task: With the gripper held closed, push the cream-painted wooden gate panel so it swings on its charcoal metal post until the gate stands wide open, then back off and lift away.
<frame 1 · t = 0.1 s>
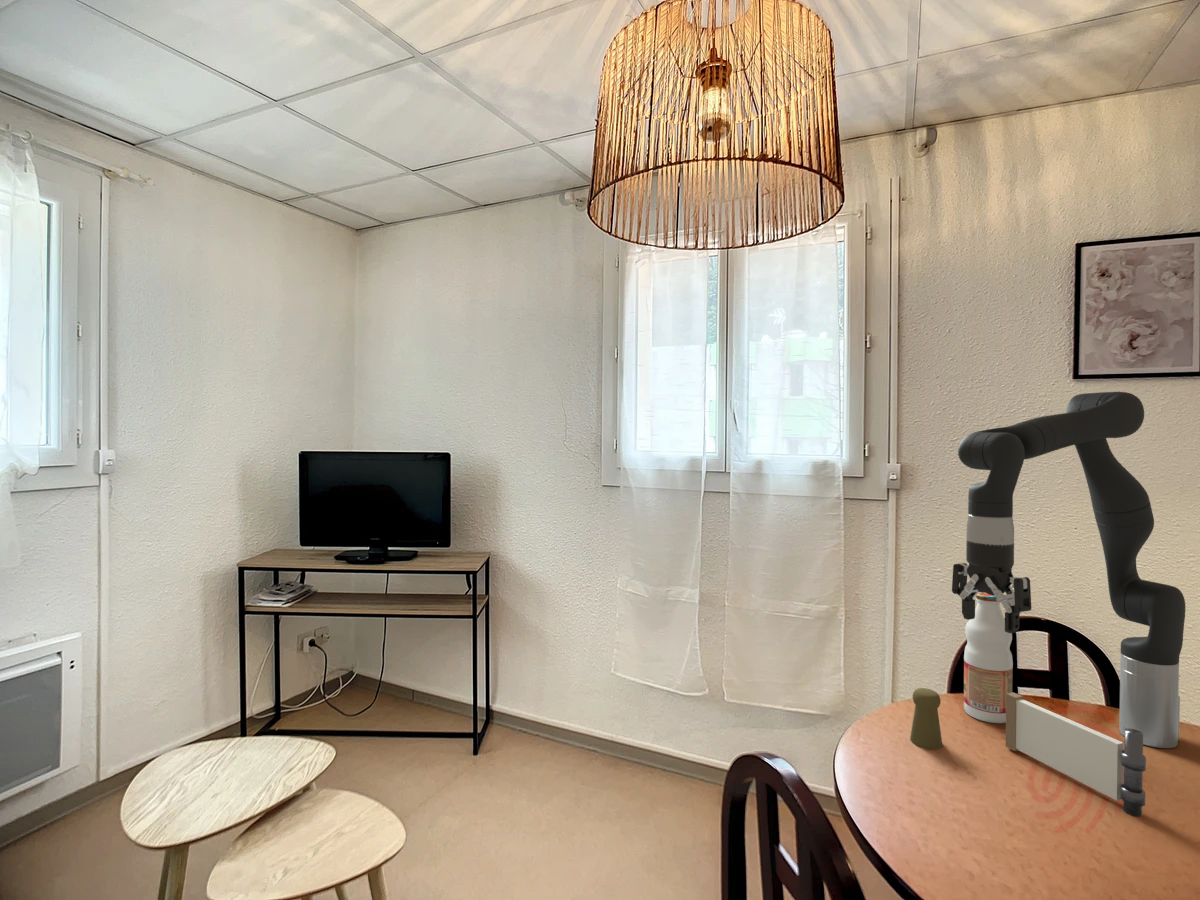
hand: (989, 625, 115), 29 cm above the table, tool pointing down, fingers open, 8 cm apart
gate: (1060, 743, 117), point 6 cm above the table, hinge at 0.0°
gate post: (1132, 812, 105), on the table
olive green pawn: (926, 742, 130), on the table
fruit juice: (987, 715, 141), on the table
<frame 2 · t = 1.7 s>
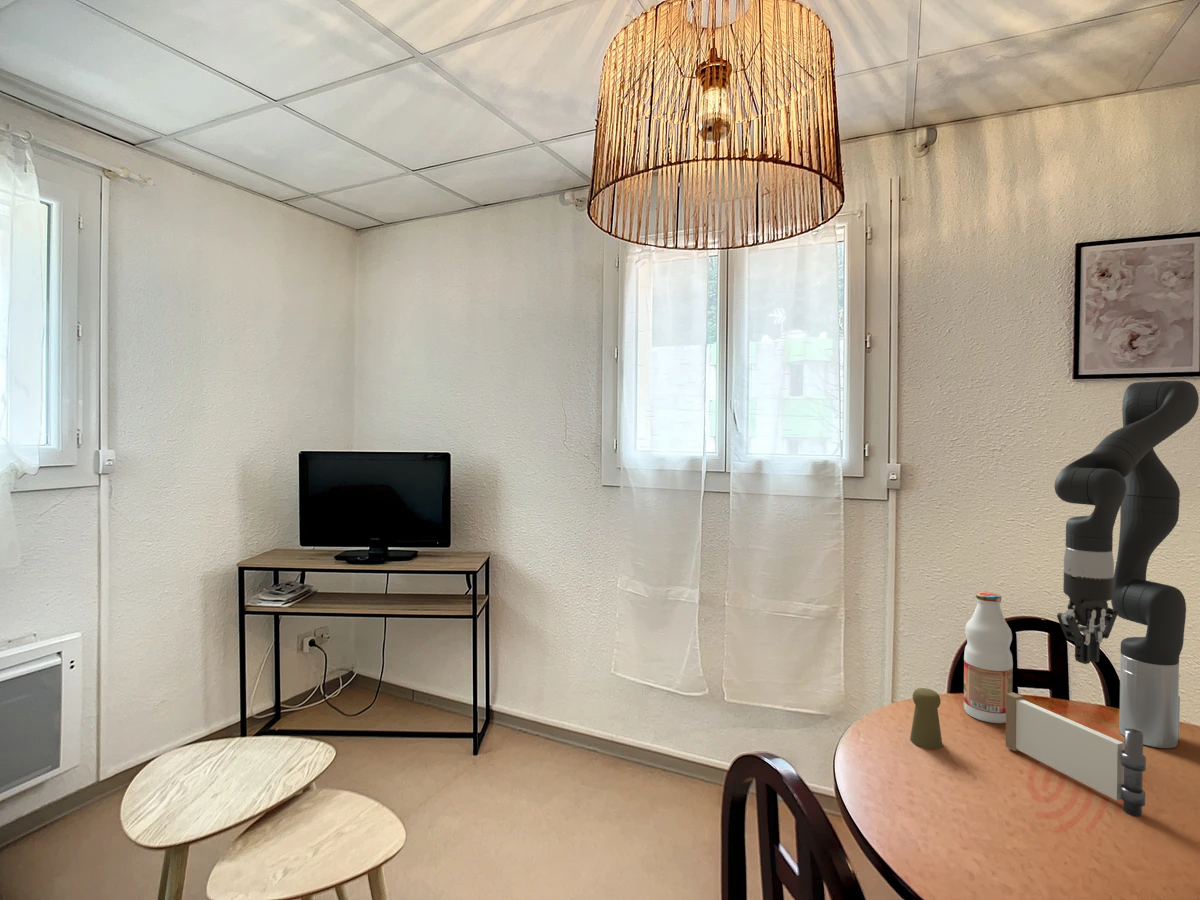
hand: (1086, 661, 118), 21 cm above the table, tool pointing down, fingers closed
nothing on the table moved.
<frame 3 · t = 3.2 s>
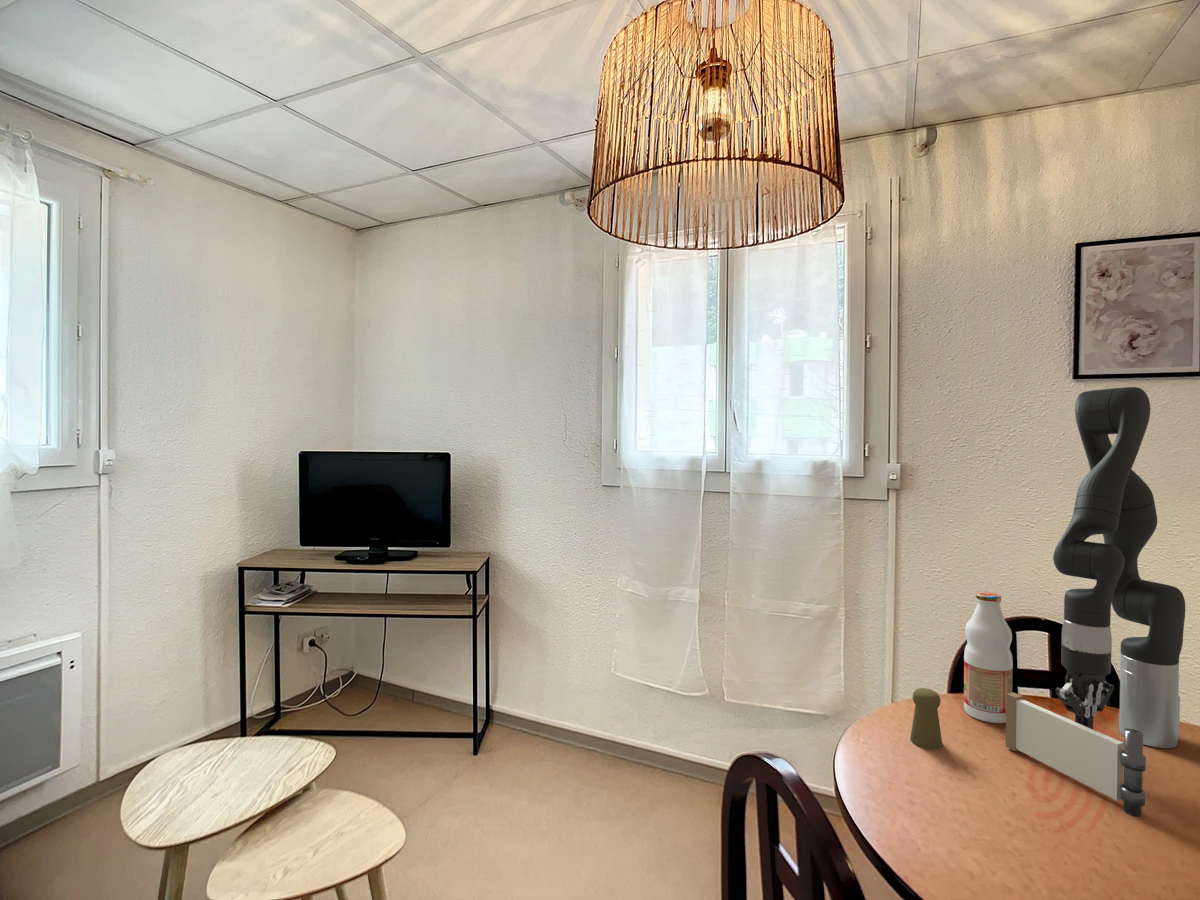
hand: (1083, 733, 119), 7 cm above the table, tool pointing down, fingers closed
nothing on the table moved.
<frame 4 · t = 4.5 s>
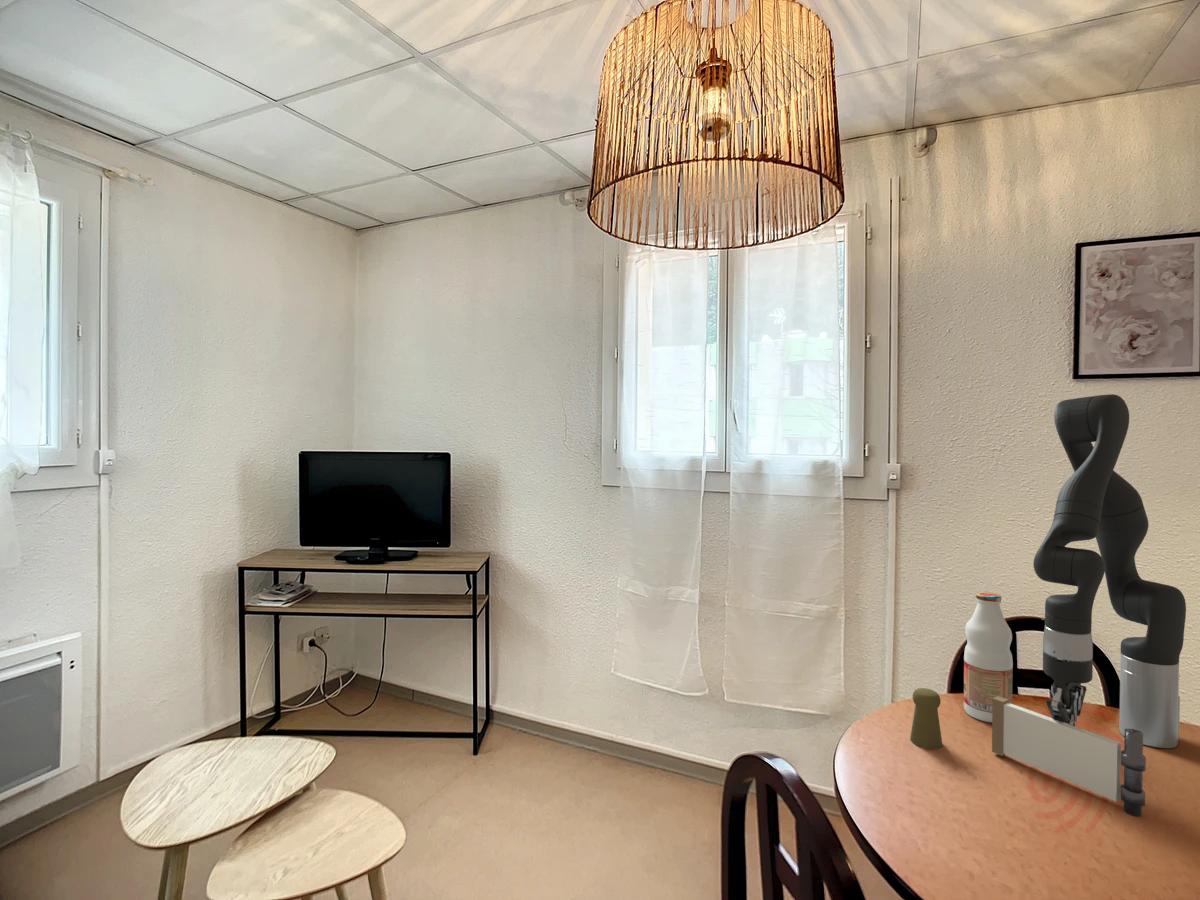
hand: (1066, 740, 118), 6 cm above the table, tool pointing down, fingers closed
gate: (1052, 746, 116), point 6 cm above the table, hinge at 11.6°, touching hand
everything else where it was.
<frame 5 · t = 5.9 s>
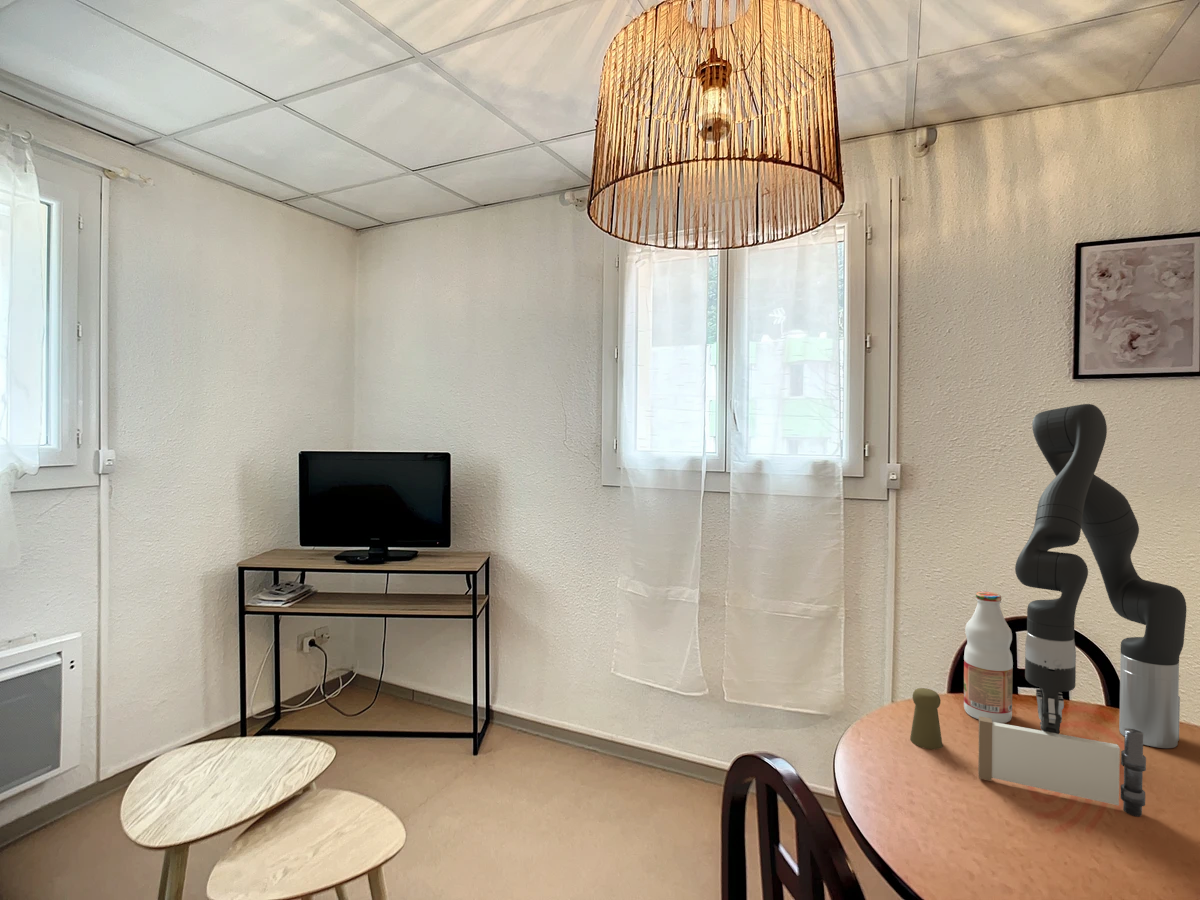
hand: (1049, 749, 114), 6 cm above the table, tool pointing down, fingers closed
gate: (1045, 760, 111), point 6 cm above the table, hinge at 43.8°, touching hand
everything else where it was.
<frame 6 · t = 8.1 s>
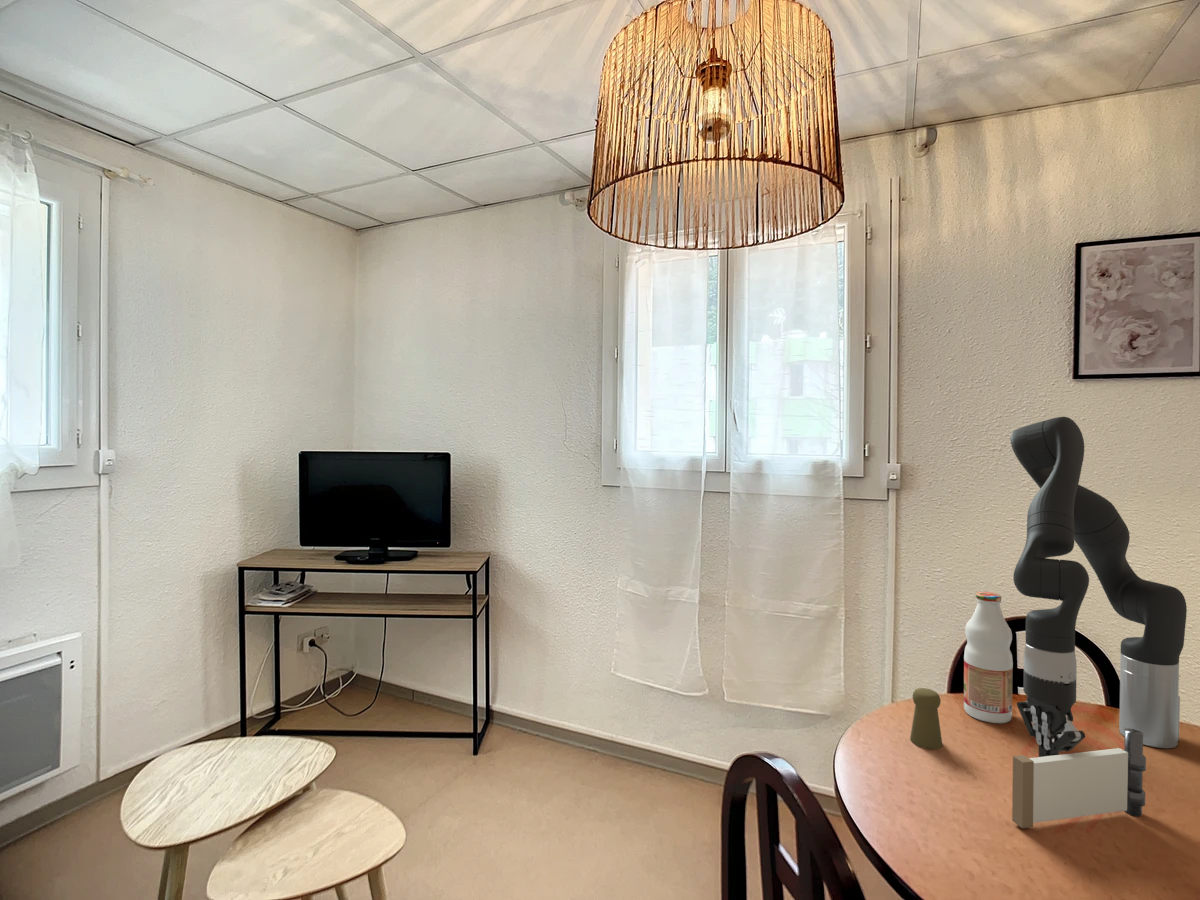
hand: (1048, 767, 109), 6 cm above the table, tool pointing down, fingers closed
gate: (1071, 785, 103), point 6 cm above the table, hinge at 81.3°
everything else where it was.
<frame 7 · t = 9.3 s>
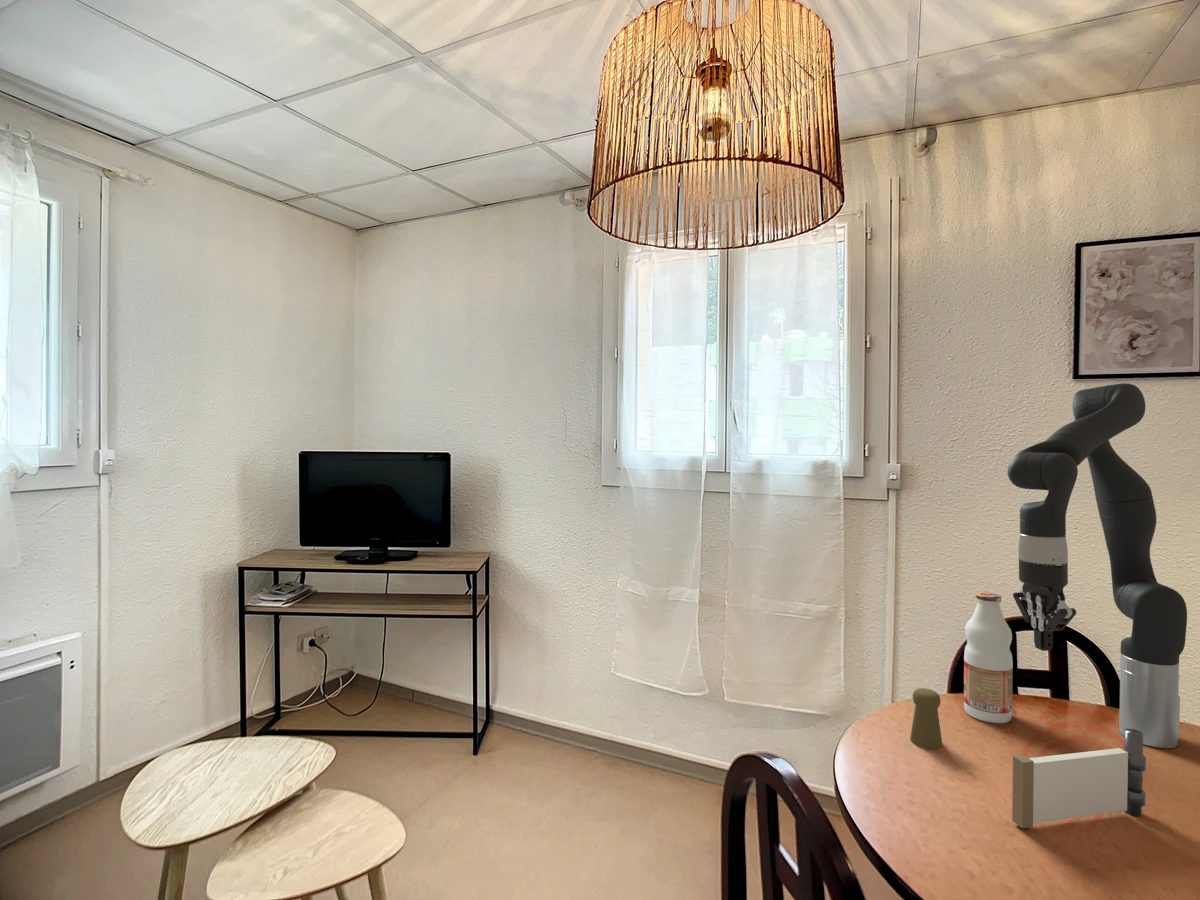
hand: (1043, 649, 116), 24 cm above the table, tool pointing down, fingers closed
nothing on the table moved.
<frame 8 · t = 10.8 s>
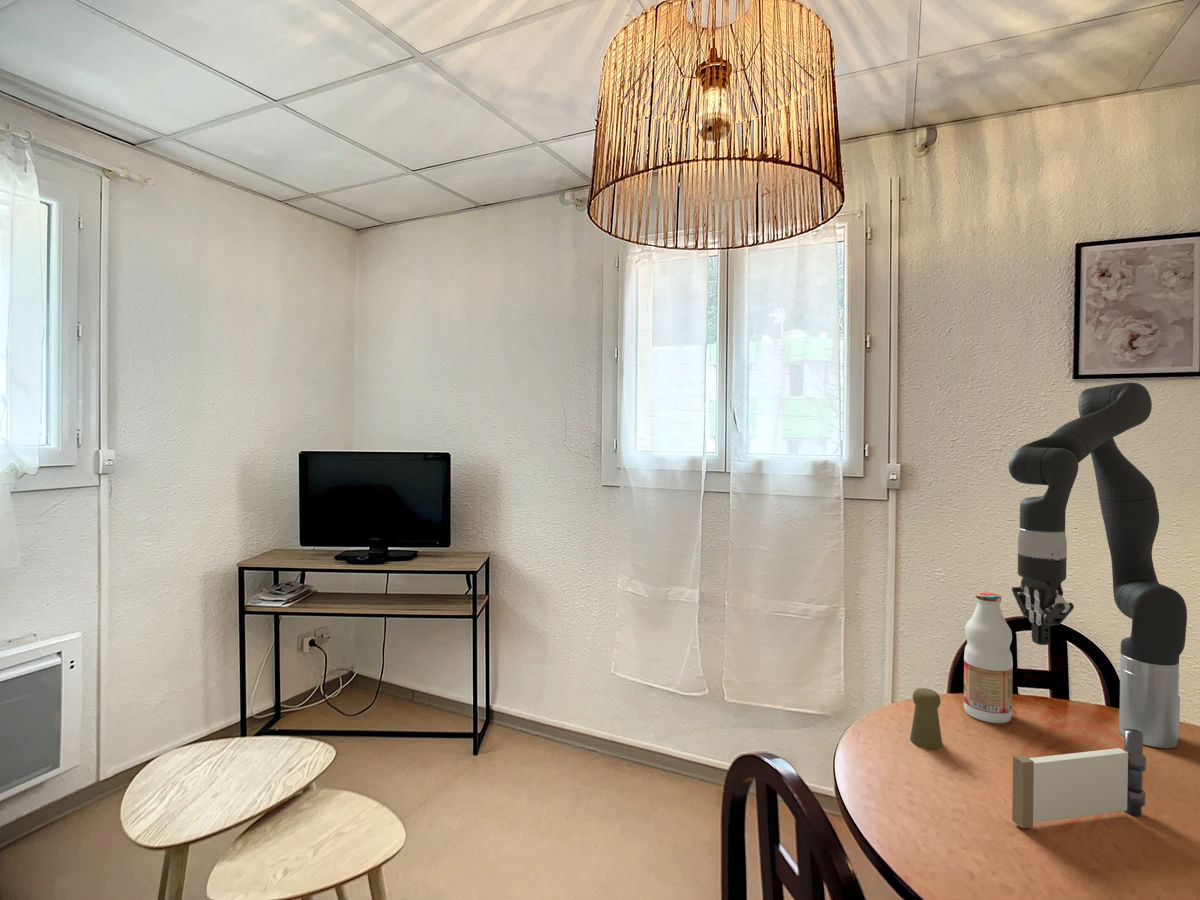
hand: (1040, 643, 117), 25 cm above the table, tool pointing down, fingers closed
nothing on the table moved.
at the end: gate at +81° (first picture: +0°); olive green pawn moved 0.2 cm from its start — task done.
